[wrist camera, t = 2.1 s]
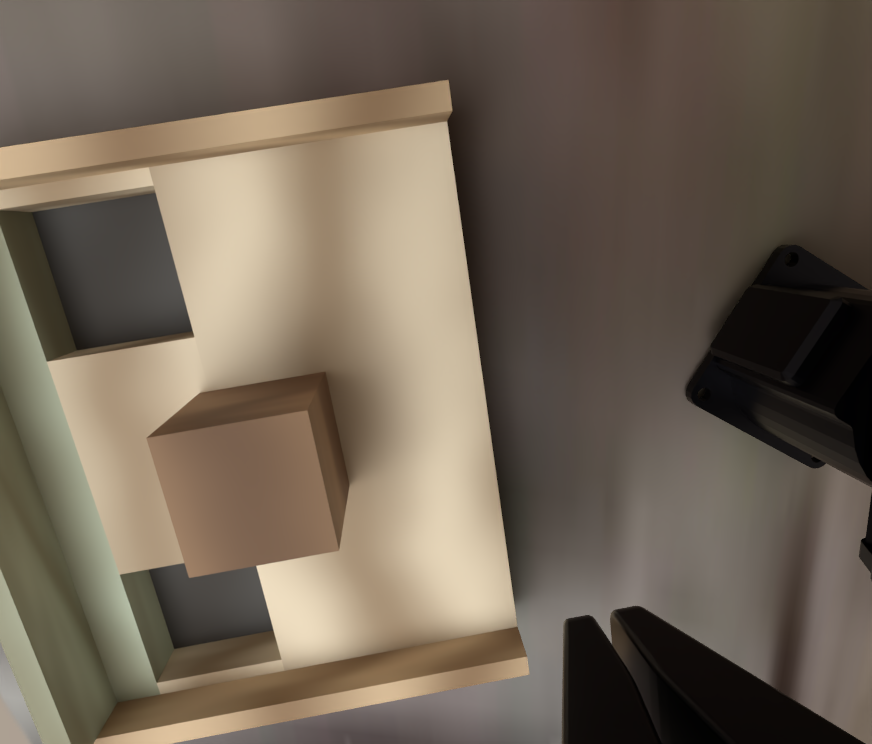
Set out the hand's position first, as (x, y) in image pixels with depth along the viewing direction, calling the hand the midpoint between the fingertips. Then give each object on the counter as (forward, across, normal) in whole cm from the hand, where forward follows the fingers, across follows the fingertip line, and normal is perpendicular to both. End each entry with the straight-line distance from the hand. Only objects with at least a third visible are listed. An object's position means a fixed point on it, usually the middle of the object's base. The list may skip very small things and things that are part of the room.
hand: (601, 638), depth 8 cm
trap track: (+13, +8, 0) cm, 15 cm away
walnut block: (+11, +7, 0) cm, 13 cm away
